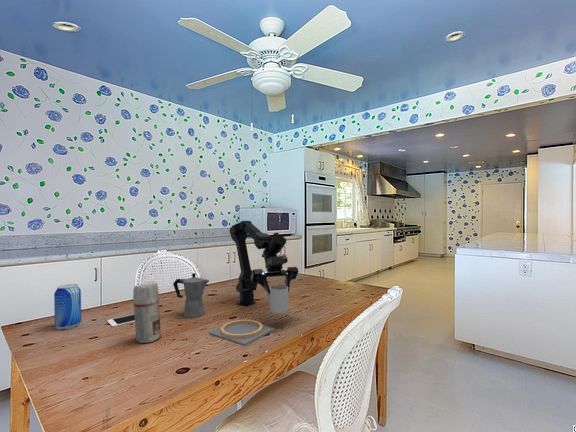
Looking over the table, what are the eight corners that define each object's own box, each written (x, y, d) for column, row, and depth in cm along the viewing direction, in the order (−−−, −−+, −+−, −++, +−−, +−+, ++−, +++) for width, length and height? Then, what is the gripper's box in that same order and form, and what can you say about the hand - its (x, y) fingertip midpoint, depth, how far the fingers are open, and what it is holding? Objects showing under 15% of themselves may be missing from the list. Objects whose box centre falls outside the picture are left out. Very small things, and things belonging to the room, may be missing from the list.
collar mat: (208, 333, 109) (208, 328, 109) (239, 320, 122) (239, 316, 122) (244, 345, 99) (244, 340, 98) (274, 330, 112) (274, 325, 112)
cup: (278, 315, 111) (278, 291, 111) (261, 309, 118) (260, 286, 118) (292, 310, 116) (292, 287, 116) (274, 304, 123) (274, 283, 123)
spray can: (143, 346, 99) (142, 285, 99) (129, 341, 103) (128, 283, 103) (166, 337, 106) (165, 281, 106) (151, 332, 110) (151, 278, 110)
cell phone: (159, 317, 129) (159, 314, 129) (112, 328, 116) (112, 325, 116) (152, 312, 135) (152, 310, 135) (106, 322, 123) (106, 320, 123)
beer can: (86, 323, 120) (85, 284, 120) (64, 331, 112) (64, 289, 112) (71, 321, 123) (71, 282, 123) (49, 329, 115) (48, 287, 115)
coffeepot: (211, 310, 135) (211, 270, 135) (206, 317, 126) (206, 275, 126) (177, 311, 135) (176, 271, 135) (169, 318, 125) (169, 275, 125)
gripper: (252, 249, 118) (258, 283, 107) (296, 247, 123) (306, 279, 113) (248, 265, 125) (254, 299, 115) (290, 263, 131) (299, 294, 120)
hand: (279, 292), depth 116 cm, fingers closed on cup, 7 cm apart
